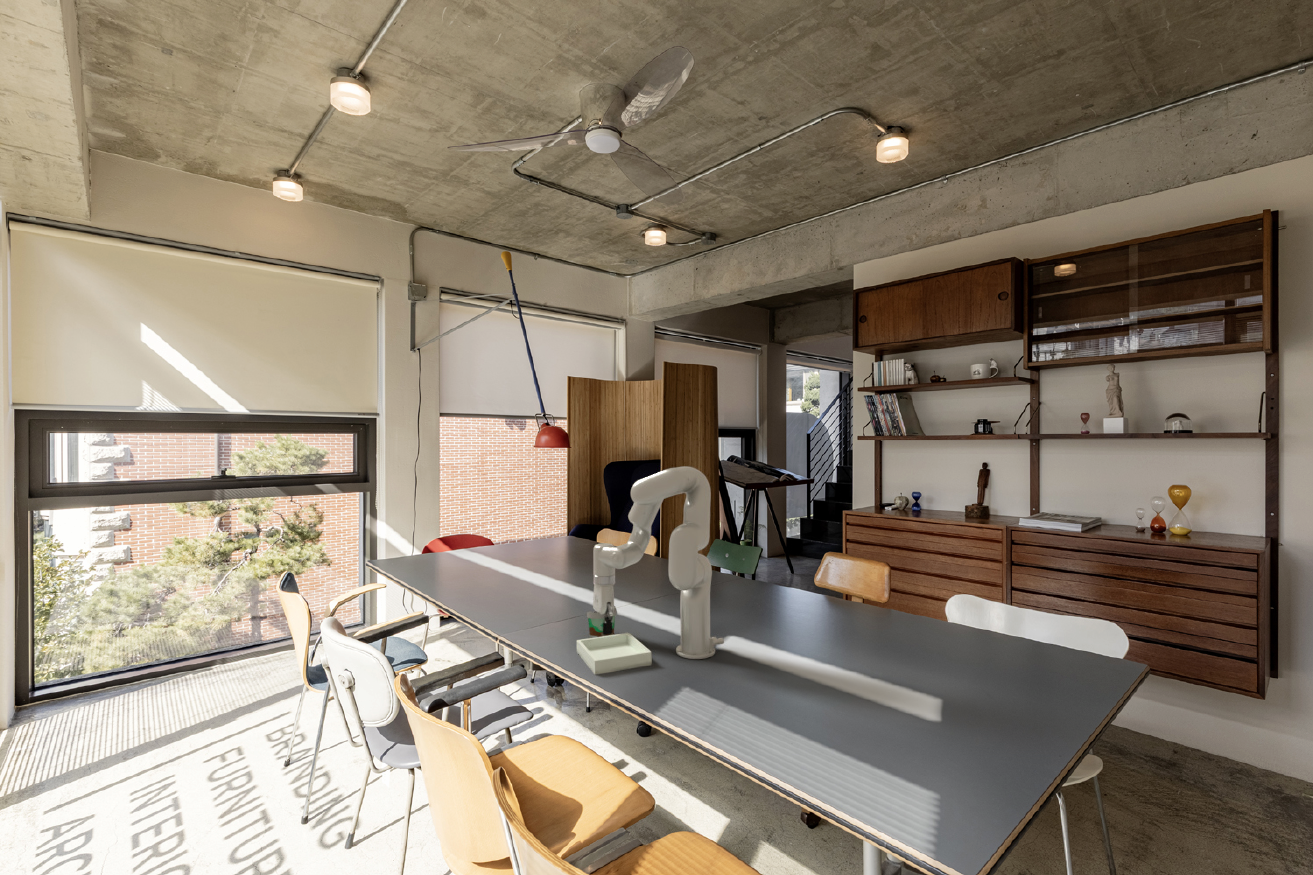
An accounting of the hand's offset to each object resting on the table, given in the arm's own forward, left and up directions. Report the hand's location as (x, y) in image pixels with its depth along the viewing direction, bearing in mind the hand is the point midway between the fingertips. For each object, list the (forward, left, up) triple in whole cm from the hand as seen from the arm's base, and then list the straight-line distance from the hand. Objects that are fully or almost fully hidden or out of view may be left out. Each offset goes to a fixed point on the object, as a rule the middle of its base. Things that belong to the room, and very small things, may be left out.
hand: (604, 630), depth 210 cm
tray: (+4, +20, -2) cm, 21 cm away
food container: (0, +1, -3) cm, 3 cm away
